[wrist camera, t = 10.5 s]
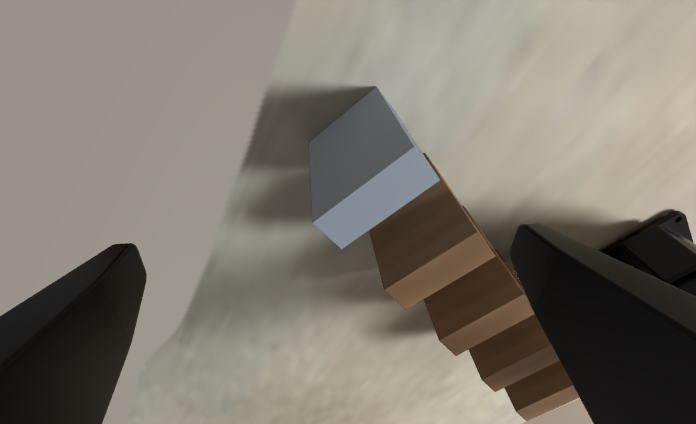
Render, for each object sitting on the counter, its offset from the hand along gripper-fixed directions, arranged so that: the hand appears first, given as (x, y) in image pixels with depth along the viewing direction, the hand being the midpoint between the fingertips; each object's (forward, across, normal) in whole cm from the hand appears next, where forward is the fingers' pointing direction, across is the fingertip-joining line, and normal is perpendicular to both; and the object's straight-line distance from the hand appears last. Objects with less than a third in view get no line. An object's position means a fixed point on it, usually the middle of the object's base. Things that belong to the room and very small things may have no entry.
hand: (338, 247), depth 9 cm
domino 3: (+13, -8, +10) cm, 18 cm away
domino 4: (+13, -12, +14) cm, 22 cm away
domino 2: (+13, -5, +6) cm, 15 cm away
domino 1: (+13, -2, +2) cm, 13 cm away
